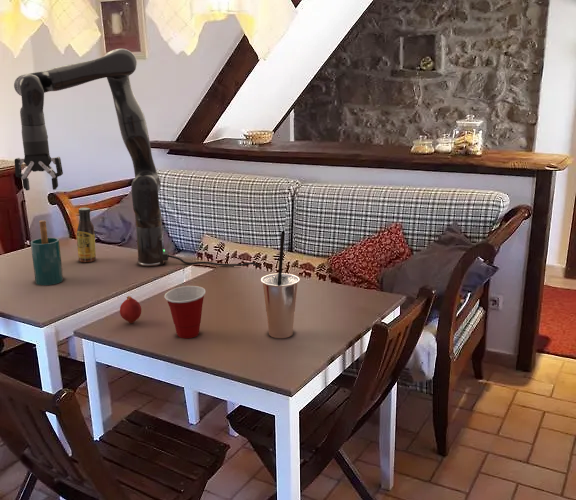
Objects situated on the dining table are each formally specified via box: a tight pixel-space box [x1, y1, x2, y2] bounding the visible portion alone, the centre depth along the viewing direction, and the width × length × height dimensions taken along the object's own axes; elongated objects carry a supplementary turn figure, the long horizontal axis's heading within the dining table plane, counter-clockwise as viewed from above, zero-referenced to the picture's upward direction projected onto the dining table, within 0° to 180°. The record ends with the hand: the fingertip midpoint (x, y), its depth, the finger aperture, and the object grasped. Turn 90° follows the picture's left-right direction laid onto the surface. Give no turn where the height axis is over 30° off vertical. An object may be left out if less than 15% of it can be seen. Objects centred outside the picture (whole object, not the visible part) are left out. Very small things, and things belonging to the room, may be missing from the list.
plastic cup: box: [163, 285, 206, 339], centre depth 169 cm, size 11×11×12 cm
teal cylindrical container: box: [30, 237, 64, 286], centre depth 213 cm, size 9×9×14 cm
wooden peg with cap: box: [38, 219, 49, 244], centre depth 212 cm, size 5×5×20 cm
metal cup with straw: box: [260, 230, 301, 339], centre depth 166 cm, size 11×11×30 cm
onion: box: [119, 295, 142, 324], centre depth 178 cm, size 6×6×8 cm
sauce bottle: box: [76, 207, 97, 263], centre depth 235 cm, size 7×6×20 cm
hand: (41, 189), depth 208 cm, fingers open, 8 cm apart
